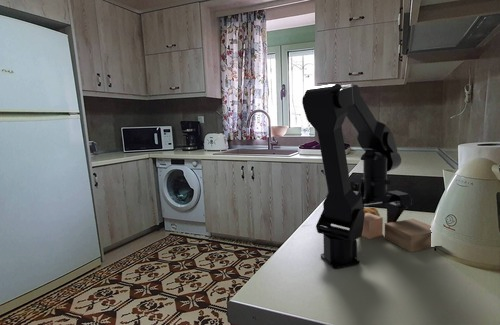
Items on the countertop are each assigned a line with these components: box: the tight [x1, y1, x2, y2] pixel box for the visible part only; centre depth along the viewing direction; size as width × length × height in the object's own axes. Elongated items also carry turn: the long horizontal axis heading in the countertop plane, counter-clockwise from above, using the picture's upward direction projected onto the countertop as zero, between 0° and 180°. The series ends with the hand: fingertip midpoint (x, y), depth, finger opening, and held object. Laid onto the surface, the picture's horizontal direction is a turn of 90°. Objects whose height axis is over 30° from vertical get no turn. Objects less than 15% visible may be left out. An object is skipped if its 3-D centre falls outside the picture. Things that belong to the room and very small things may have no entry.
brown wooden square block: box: [384, 218, 432, 253], centre depth 74 cm, size 9×9×4 cm
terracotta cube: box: [361, 213, 384, 240], centre depth 81 cm, size 5×5×5 cm
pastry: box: [363, 206, 381, 217], centre depth 92 cm, size 9×7×4 cm
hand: (374, 232), depth 79 cm, fingers open, 9 cm apart
